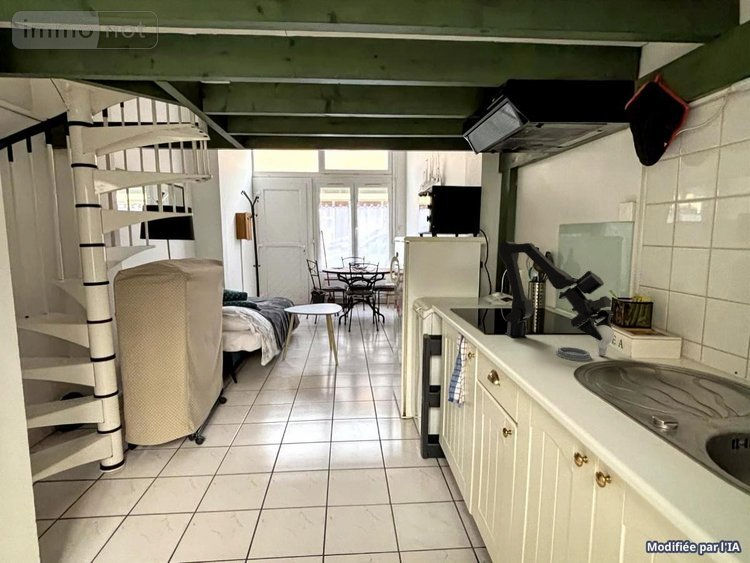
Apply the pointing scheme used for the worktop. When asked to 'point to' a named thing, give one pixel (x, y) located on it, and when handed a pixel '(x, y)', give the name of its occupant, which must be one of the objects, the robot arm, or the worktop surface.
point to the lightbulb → (604, 339)
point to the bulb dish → (573, 354)
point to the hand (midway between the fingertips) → (607, 338)
